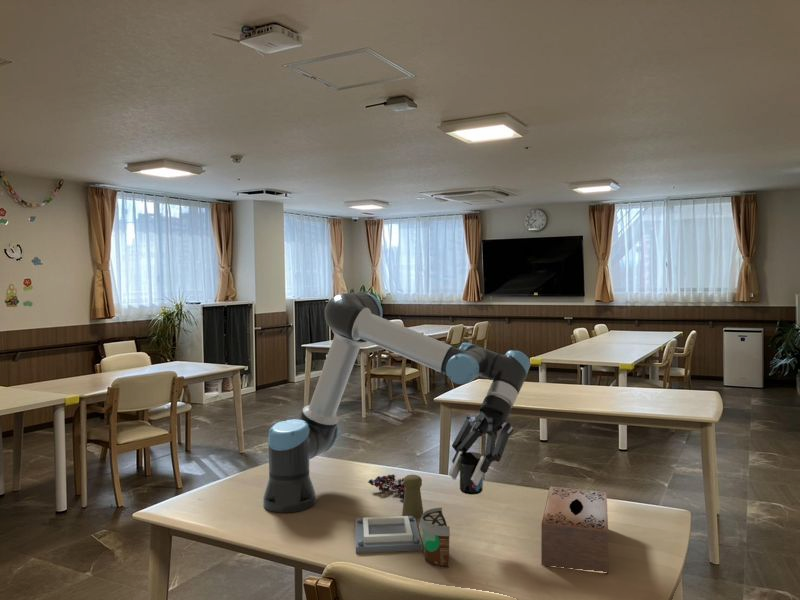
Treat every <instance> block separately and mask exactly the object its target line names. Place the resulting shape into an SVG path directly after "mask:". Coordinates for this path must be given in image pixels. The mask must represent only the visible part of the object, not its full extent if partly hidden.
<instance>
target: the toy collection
mask: <svg viewBox="0 0 800 600" xmlns="http://www.w3.org/2000/svg"><path fill="white" fill-rule="evenodd" d="M404 478H405V477H403V478H402V479H401V478H399V479H396V475H395V474H388V475H383V476H382V475H381V476H380V475H378V476H377V477H375V479H373V478H371V479H369V480H368V481H367V483H369V485H371V486H374V487H376V488H378V490H379V491H382V490H383V491H387V492H389V491H393V492H397V493H398V496H397V497H398V499H400V500H404V495H405V487H404V484H403V480H404Z"/></svg>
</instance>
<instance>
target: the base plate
mask: <svg viewBox="0 0 800 600" xmlns="http://www.w3.org/2000/svg"><path fill="white" fill-rule="evenodd" d="M416 520H417V519H415V518H414V517H413V516H409V517H408V516H402V515H400V516H399V515H396V516H395V515H394V516H369V517H358V518H357V519H356V520H355V521H354V522H355V523H354V524H355V525H354V527H355V534H354V535H355V553H356V554H368V553H369V554H370V553H371V554H372V553H390V552H391V553H392V552H393V553H394V552H411V551H412V552H415V551H423V544H422V540H421V536H420V532H419V528H418V525H417V524H418V523H417V521H416Z"/></svg>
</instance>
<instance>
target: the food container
mask: <svg viewBox="0 0 800 600" xmlns="http://www.w3.org/2000/svg"><path fill="white" fill-rule="evenodd" d="M419 519H420V521H419V528H420V529H421V531H422V539H423V552H424V553H423V554H424V555H423V556H424V560H425V562H426V563H427V564H428V565H430V566H433V567H436V568H437V567H438V568H442V569H446V568H447V569H449V568H450V537H451V532H450V526H449V525H447V522H446V518H445V517H444V514H443V507H434V508H430V509H428V510H426V511H423V514H422V517H421V518H419Z"/></svg>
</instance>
